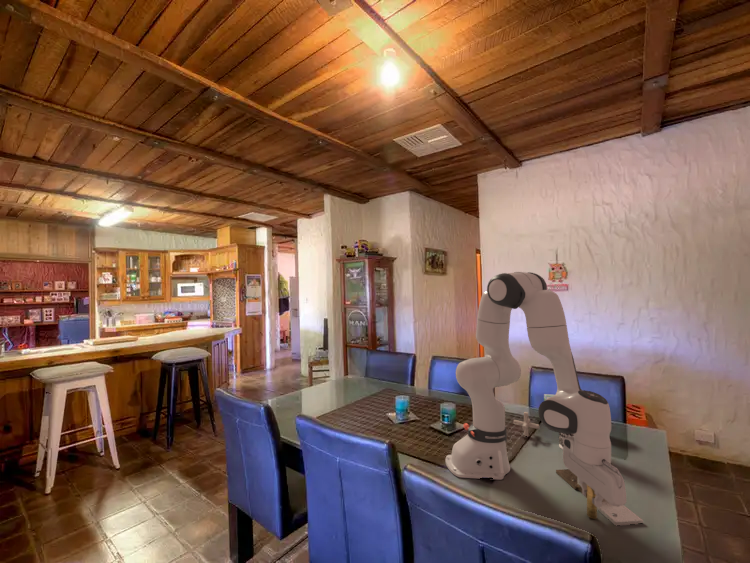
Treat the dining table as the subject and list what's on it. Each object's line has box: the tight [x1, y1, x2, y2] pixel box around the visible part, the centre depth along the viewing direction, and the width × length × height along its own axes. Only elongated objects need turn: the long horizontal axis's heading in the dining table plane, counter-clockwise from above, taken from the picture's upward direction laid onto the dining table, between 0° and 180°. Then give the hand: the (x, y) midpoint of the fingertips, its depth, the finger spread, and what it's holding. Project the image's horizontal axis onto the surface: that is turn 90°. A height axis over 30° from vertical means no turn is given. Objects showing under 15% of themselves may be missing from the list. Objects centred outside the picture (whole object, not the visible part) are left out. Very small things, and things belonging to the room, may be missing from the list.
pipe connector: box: [513, 411, 540, 438], centre depth 149 cm, size 10×10×10 cm
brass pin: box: [586, 485, 598, 520], centre depth 96 cm, size 2×2×9 cm
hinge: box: [555, 468, 644, 527], centre depth 107 cm, size 26×8×4 cm, turn 5°
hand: (591, 500), depth 96 cm, fingers closed on brass pin, 2 cm apart
